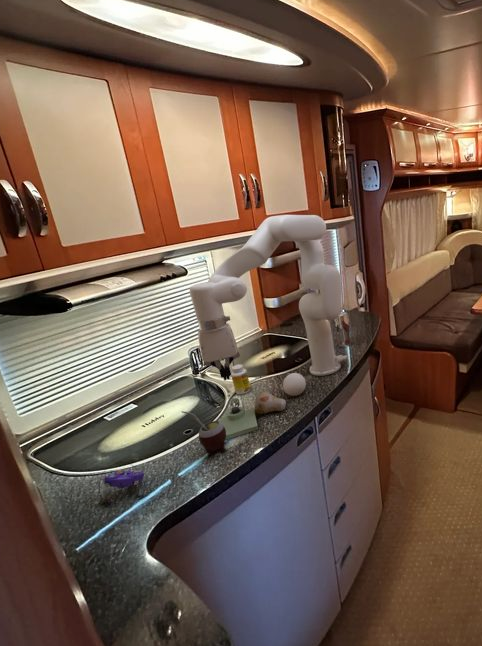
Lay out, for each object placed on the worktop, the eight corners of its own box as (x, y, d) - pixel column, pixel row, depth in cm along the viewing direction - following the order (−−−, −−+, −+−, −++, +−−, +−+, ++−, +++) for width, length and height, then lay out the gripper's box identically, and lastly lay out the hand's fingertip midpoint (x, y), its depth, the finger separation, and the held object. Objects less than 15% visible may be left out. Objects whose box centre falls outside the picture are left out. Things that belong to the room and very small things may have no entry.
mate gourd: (234, 443, 109) (222, 398, 105) (215, 462, 102) (200, 414, 98) (215, 440, 112) (202, 396, 108) (194, 458, 105) (180, 411, 101)
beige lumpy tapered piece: (287, 415, 121) (265, 396, 117) (265, 426, 124) (244, 408, 120) (292, 398, 127) (272, 380, 123) (271, 409, 130) (251, 391, 126)
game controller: (150, 457, 101) (143, 472, 92) (147, 487, 101) (140, 506, 92) (107, 460, 98) (95, 476, 88) (104, 491, 98) (92, 510, 88)
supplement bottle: (247, 394, 138) (240, 369, 135) (233, 395, 139) (226, 370, 136) (253, 387, 143) (247, 362, 140) (239, 387, 144) (233, 363, 141)
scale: (254, 410, 126) (252, 402, 125) (258, 429, 115) (256, 421, 114) (220, 420, 122) (218, 412, 122) (220, 441, 111) (218, 433, 110)
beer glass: (338, 348, 170) (333, 317, 165) (336, 343, 176) (331, 313, 172) (353, 345, 171) (348, 314, 166) (351, 340, 177) (346, 310, 173)
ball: (281, 400, 130) (276, 379, 128) (290, 388, 138) (286, 369, 135) (302, 400, 129) (298, 379, 126) (310, 388, 136) (306, 368, 134)
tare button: (239, 409, 123) (238, 405, 122) (240, 413, 120) (239, 408, 120) (232, 411, 122) (231, 407, 121) (232, 415, 120) (231, 411, 119)
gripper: (237, 315, 118) (250, 367, 123) (186, 326, 113) (202, 380, 118) (238, 320, 111) (252, 376, 117) (184, 333, 106) (201, 390, 112)
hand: (226, 378), depth 117 cm, fingers closed
